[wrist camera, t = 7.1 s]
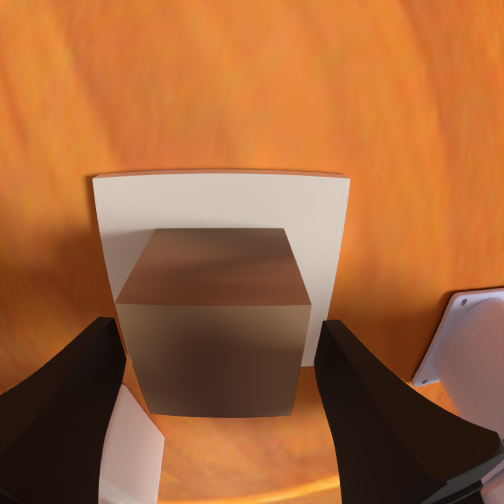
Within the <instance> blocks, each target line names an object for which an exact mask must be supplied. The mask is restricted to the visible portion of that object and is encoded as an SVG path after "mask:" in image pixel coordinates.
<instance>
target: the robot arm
mask: <svg viewBox="0 0 504 504" xmlns="http://www.w3.org/2000/svg"><path fill="white" fill-rule="evenodd" d="M125 365H126V356H125V353H124V349H123V346H122V343H121V340H120V336H119V333H118V330H117V326H116V323H115V319H114V318H108V317H98V318H97V319H96V320H95V321H93V322H92V323H91V324H90V325H89V326H88V327H87V328H86V329H85V330H83V331H82V332H81V333H80V334H79V335H78V336H77V337H76V338H75V339H74V340H73V341H71V342H70V343H69V344H68V345H67V346H66V347H65V348H64V349H63V350H62V351H60V352H59V353H58V354H57V355H56V356H54V357H53V358H52V359H51V360H50V361H49V362H47V363H46V364H45V365H44V366H43V367H41V368H40V369H39V370H38V371H36V372H35V373H34V374H32V375H31V376H30V377H28V378H27V379H25V380H24V381H23V382H21V383H20V384H18V385H17V386H15V387H13V388H12V389H10V390H8V391H7V392H5V393H3V394H2V395H0V504H98V498H99V478H100V468H101V459H102V452H103V446H104V440H105V436H106V432H107V429H108V425H109V422H110V419H111V416H112V412H113V409H114V406H115V403H116V400H117V397H118V394H119V391H120V388H121V384H122V380H123V375H124V370H125ZM314 368H315V374H316V380H317V386H318V390H319V393H320V396H321V400H322V403H323V407H324V410H325V413H326V417H327V420H328V423H329V427H330V430H331V433H332V437H333V441H334V445H335V451H336V457H337V463H338V470H339V478H340V486H341V497H342V504H504V288H498V289H489V290H480V291H470V292H459V293H455V294H454V295H453V296H452V297H451V299H450V301H449V303H448V306H447V308H446V311H445V313H444V316H443V318H442V320H441V323H440V325H439V327H438V329H437V332H436V334H435V336H434V338H433V340H432V343H431V345H430V347H429V349H428V351H427V353H426V355H425V357H424V359H423V361H422V363H421V365H420V367H419V369H418V371H417V372H416V374H415V376H414V378H413V380H412V384H413V386H414V387H419V386H423V385H427V384H431V383H435V382H439V381H440V382H441V383H442V385H443V387H444V389H445V390H446V392H447V394H448V396H449V397H450V399H451V401H452V403H453V405H454V407H455V408H456V410H457V412H458V414H459V416H460V417H458V416H456V415H454V414H452V413H450V412H448V411H446V410H445V409H443V408H441V407H439V406H438V405H436V404H435V403H433V402H431V401H430V400H428V399H427V398H425V397H424V396H422V395H421V394H419V393H418V392H416V391H415V390H414V389H412V388H411V387H410V386H408V385H407V384H406V383H404V382H403V381H402V380H401V379H399V378H398V377H397V376H396V375H395V374H394V373H393V372H391V371H390V370H389V369H388V368H387V367H386V366H385V365H384V364H382V363H381V362H380V361H379V360H378V359H377V358H376V357H375V356H374V355H373V354H372V353H371V352H370V351H369V350H368V349H367V348H366V347H365V346H364V345H363V344H362V343H361V342H360V341H359V340H358V339H357V338H356V337H355V335H354V334H353V333H352V332H351V331H350V330H349V329H348V328H347V327H346V326H345V325H344V324H343V323H342V322H341V321H340V320H324V321H323V322H322V326H321V331H320V336H319V340H318V345H317V349H316V353H315V358H314Z"/></svg>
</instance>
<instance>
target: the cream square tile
mask: <svg viewBox="0 0 504 504" xmlns="http://www.w3.org/2000/svg"><path fill="white" fill-rule="evenodd" d="M92 179H93V188H94V197H95V204H96V212H97V218H98V225H99V231H100V237H101V243H102V248H103V254H104V259H105V264H106V269H107V273H108V278H109V282H110V287H111V291H112V295H113V299H114V304H115V301H116V299H117V298H118V296H119V294H120V292H121V290H122V288H123V286H124V284H125V282H126V281H127V279H128V277H129V275H130V273H131V271H132V270H133V268H134V266H135V264H136V262H137V261H138V259H139V257H140V255H141V254H142V252H143V250H144V248H145V247H146V245H147V243H148V241H149V240H150V238H151V236H152V235H153V233H154V231H155V230H156V228H284V230H285V233H286V235H287V238H288V241H289V243H290V246H291V249H292V251H293V254H294V257H295V259H296V262H297V265H298V268H299V270H300V273H301V276H302V279H303V281H304V284H305V287H306V290H307V293H308V295H309V298H310V301H311V304H312V307H311V313H310V319H309V325H308V330H307V336H306V341H305V347H304V352H303V358H302V363H301V367H305V366H314V358H315V353H316V349H317V345H318V340H319V336H320V331H321V326H322V322H323V321H324V320H327V316H328V311H329V307H330V302H331V297H332V292H333V287H334V281H335V276H336V271H337V265H338V259H339V254H340V248H341V242H342V235H343V229H344V222H345V215H346V208H347V201H348V193H349V185H350V178H349V177H347V176H346V175H344V174H335V173H321V172H304V171H282V170H247V169H192V170H158V171H137V172H120V173H106V174H99V175H98V176H96V177H94V178H92ZM115 308H116V307H115ZM119 323H120V322H119ZM121 330H122V329H121ZM123 337H124V336H123ZM124 340H125V339H124ZM125 344H126V343H125ZM126 347H127V346H126ZM127 350H128V349H127ZM128 354H129V352H128ZM129 357H130V356H129ZM130 360H131V359H130ZM131 363H132V362H131Z"/></svg>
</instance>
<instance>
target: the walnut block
mask: <svg viewBox="0 0 504 504" xmlns="http://www.w3.org/2000/svg"><path fill="white" fill-rule="evenodd" d="M115 307H116V311H117V315H118V319H119V322H120V326H121V329H122V333H123V336H124V339H125V343H126V346H127V349H128V352H129V356H130V359H131V362H132V365H133V368H134V371H135V374H136V377H137V379H138V382H139V385H140V388H141V391H142V393H143V396H144V399H145V401H146V404H147V406H148V409H149V411H150V414H159V415H171V416H187V417H213V418H249V417H275V416H290V415H291V410H292V406H293V401H294V397H295V392H296V387H297V383H298V378H299V373H300V368H301V363H302V358H303V352H304V347H305V341H306V336H307V330H308V325H309V319H310V313H311V307H312V304H311V301H310V298H309V295H308V293H307V290H306V287H305V284H304V281H303V279H302V276H301V273H300V270H299V268H298V265H297V262H296V259H295V257H294V254H293V251H292V249H291V246H290V243H289V241H288V238H287V235H286V233H285V230H284V228H156V230H155V231H154V233H153V235H152V236H151V238H150V240H149V241H148V243H147V245H146V247H145V248H144V250H143V252H142V254H141V255H140V257H139V259H138V261H137V262H136V264H135V266H134V268H133V270H132V271H131V273H130V275H129V277H128V279H127V281H126V282H125V284H124V286H123V288H122V290H121V292H120V294H119V296H118V298H117V299H116V301H115Z"/></svg>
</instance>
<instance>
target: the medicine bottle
mask: <svg viewBox="0 0 504 504" xmlns="http://www.w3.org/2000/svg"><path fill="white" fill-rule="evenodd" d="M164 441H165V438H164V436H163V435H162V433H161V432H160V431H159V430H158V428H157V427H156V426H155V425H154V423H153V422H152V421H151V420H150V418H149V417H148V416H147V414H146V413H145V412H144V410H143V409H142V408H141V406H140V405H139V404H138V402H137V401H136V400H135V398H134V397H133V395H132V394H131V393H130V391H129V390H128V388H127V387H126V386H125V385H123V384H121V388H120V391H119V394H118V397H117V400H116V403H115V406H114V409H113V412H112V416H111V419H110V422H109V425H108V429H107V432H106V436H105V440H104V446H103V452H102V459H101V468H100V478H99V498H98V504H157V497H158V488H159V479H160V471H161V463H162V455H163V448H164Z"/></svg>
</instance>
